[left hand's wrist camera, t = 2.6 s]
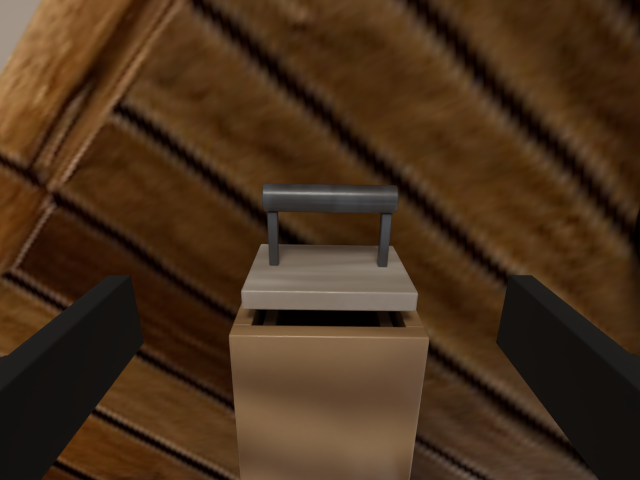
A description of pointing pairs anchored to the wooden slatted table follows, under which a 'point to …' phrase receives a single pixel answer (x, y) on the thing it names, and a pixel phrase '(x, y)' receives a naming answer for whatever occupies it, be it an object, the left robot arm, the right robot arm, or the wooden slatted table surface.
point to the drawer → (328, 263)
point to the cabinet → (327, 398)
